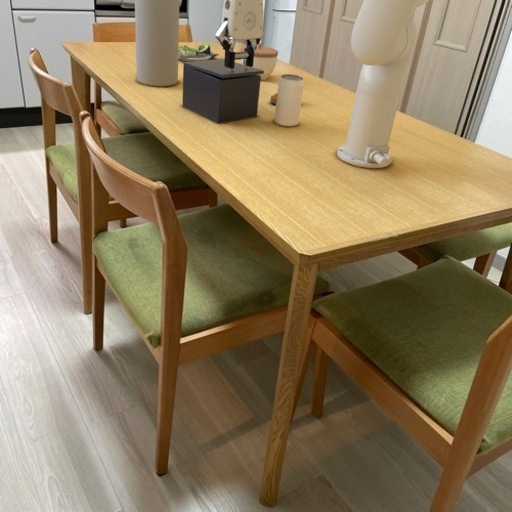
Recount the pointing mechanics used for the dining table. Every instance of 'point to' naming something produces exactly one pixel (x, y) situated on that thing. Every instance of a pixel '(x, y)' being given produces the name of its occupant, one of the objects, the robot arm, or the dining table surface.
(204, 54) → the salad plate
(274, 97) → the pastry
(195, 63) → the bin lid
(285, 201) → the dining table surface
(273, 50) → the lidded bowl
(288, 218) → the dining table surface
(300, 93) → the can
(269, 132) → the dining table surface
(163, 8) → the cylinder vase
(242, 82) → the bin
